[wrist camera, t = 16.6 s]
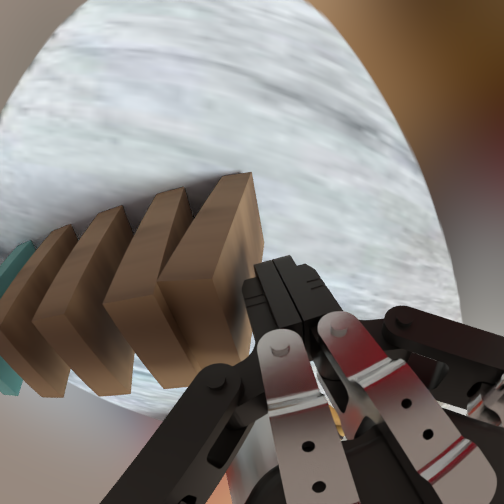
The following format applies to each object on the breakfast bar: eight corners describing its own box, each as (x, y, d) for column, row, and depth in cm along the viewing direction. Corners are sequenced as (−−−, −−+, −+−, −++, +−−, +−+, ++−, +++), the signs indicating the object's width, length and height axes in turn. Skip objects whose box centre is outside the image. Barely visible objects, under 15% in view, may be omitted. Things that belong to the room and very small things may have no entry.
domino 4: (264, 243, 18) (245, 374, 10) (238, 245, 19) (203, 373, 10) (251, 171, 16) (211, 278, 7) (222, 176, 16) (156, 281, 8)
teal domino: (59, 292, 17) (18, 395, 9) (45, 296, 17) (3, 394, 9) (30, 240, 15) (-38, 335, 6) (17, 246, 15) (-49, 337, 6)
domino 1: (99, 282, 18) (63, 397, 9) (81, 287, 18) (42, 397, 9) (70, 223, 15) (-2, 327, 7) (52, 231, 15) (-19, 331, 7)
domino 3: (204, 255, 18) (204, 384, 10) (179, 260, 18) (163, 389, 10) (184, 186, 16) (153, 294, 7) (156, 194, 16) (102, 304, 7)
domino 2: (148, 269, 18) (130, 393, 10) (126, 275, 18) (99, 396, 10) (122, 205, 15) (64, 313, 7) (98, 213, 15) (31, 321, 7)
